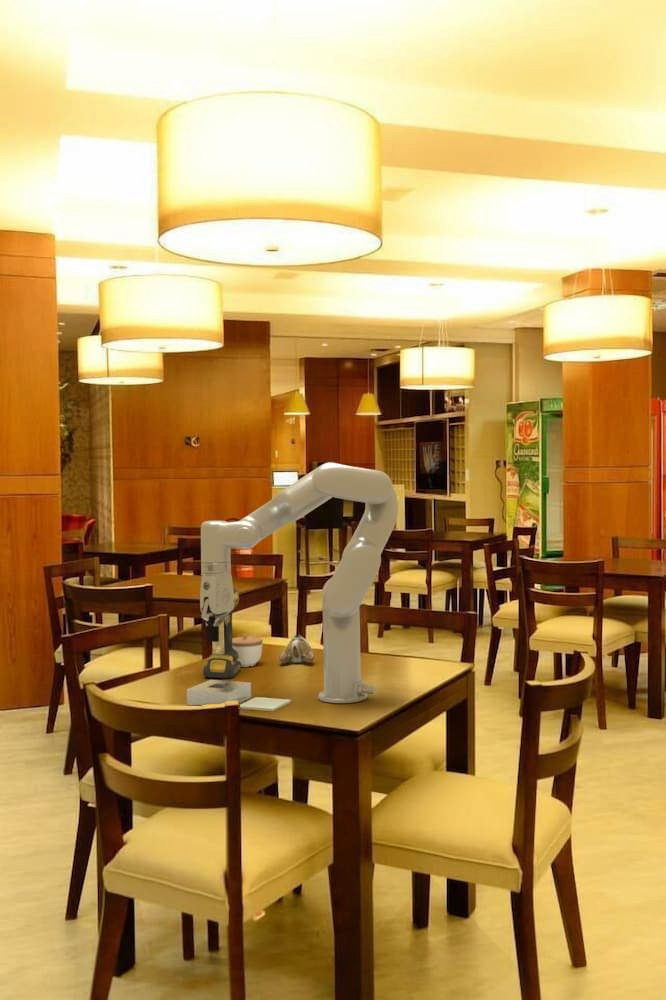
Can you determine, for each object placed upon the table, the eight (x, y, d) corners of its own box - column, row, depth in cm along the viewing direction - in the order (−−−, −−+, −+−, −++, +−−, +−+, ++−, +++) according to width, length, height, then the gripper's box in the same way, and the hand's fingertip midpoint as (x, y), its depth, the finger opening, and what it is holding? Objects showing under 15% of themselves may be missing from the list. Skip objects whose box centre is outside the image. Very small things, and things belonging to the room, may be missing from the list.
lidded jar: (265, 661, 303) (264, 631, 303) (260, 668, 292) (259, 637, 292) (231, 661, 304) (230, 631, 304) (224, 668, 293) (224, 637, 293)
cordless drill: (195, 684, 273) (193, 594, 272) (214, 669, 293) (212, 586, 292) (227, 684, 272) (225, 594, 271) (243, 669, 291) (241, 586, 291)
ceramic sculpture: (316, 629, 308) (312, 640, 293) (317, 656, 309) (313, 669, 294) (282, 630, 308) (277, 641, 294) (283, 657, 309) (278, 669, 294)
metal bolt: (231, 652, 252) (231, 612, 252) (222, 655, 248) (221, 615, 247) (214, 650, 254) (214, 611, 254) (205, 654, 250) (204, 614, 249)
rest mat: (291, 702, 249) (290, 699, 249) (273, 711, 240) (273, 708, 240) (256, 699, 253) (256, 697, 253) (237, 708, 244) (237, 705, 244)
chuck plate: (251, 697, 255) (250, 682, 255) (228, 708, 244) (228, 692, 243) (210, 694, 259) (210, 679, 259) (187, 705, 248) (186, 689, 248)
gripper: (212, 572, 241) (213, 646, 242) (244, 566, 256) (244, 636, 257) (186, 571, 244) (187, 644, 245) (219, 565, 259) (219, 634, 260)
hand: (216, 639), depth 251 cm, fingers closed on metal bolt, 3 cm apart
